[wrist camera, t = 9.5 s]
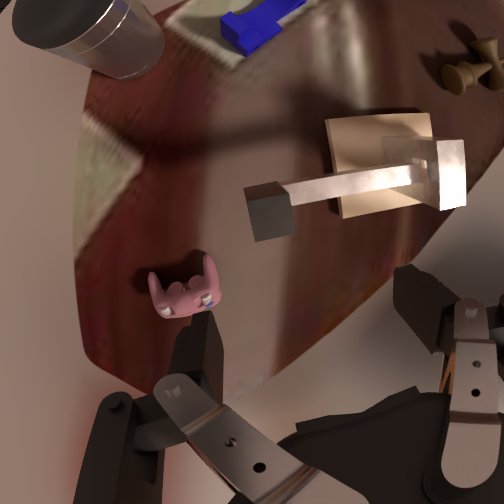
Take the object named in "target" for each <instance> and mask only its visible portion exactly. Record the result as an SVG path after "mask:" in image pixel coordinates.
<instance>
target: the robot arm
mask: <svg viewBox="0 0 504 504" xmlns="http://www.w3.org/2000/svg"><path fill="white" fill-rule="evenodd" d="M10 1H11V0H0V13H1V12H2V11H3V9H5V7H6V6H7V5H8V4H9V3H10ZM12 26H13V30H14V33H15V35H16V36H17V37H18V38H19V39H20V40H21V41H22V42H24V43H26V44H28V45H31V46H34V47H37V48H40V49H43V50H45V51H48V52H51V53H53V54H56V55H59V56H62V57H64V58H67V59H69V60H72V61H74V62H77V63H79V64H82V65H84V66H87V67H89V68H91V69H93V70H96V71H98V72H100V73H102V74H105V75H107V76H109V77H112V78H114V79H117V80H131V79H135V78H138V77H140V76H142V75H144V74H146V73H147V72H149V71H150V70H151V69H152V68H153V67H154V66H155V65H156V64H157V63H158V61H159V60H160V58H161V56H162V55H163V52H164V49H165V36H164V33H163V31H162V29H161V28H160V26H159V25H158V23H157V22H156V20H155V19H154V17H153V16H152V14H151V13H150V12H149V10H148V9H147V7H146V6H145V4H144V3H143V2H142V0H17V1H16V3H15V6H14V10H13V15H12ZM393 303H394V306H395V309H396V311H397V312H398V313H399V314H400V316H401V317H402V318H403V319H404V320H405V321H406V323H407V324H408V325H409V326H410V328H411V329H412V330H413V331H414V333H415V334H416V335H417V336H418V337H419V339H420V340H421V341H422V343H423V344H424V345H425V346H426V348H427V349H428V350H429V351H430V353H431V354H432V355H435V354H438V353H440V352H442V351H443V353H444V357H443V362H442V369H441V376H440V383H439V389H438V393H436V392H426V393H420V392H419V391H418V389H417V387H416V386H413V387H411V388H409V389H406V390H403V391H401V392H398V393H396V394H393V395H391V396H388V397H387V398H385V399H384V400H382V401H380V402H379V403H377V404H376V405H374V406H373V407H371V408H369V409H367V410H365V411H364V412H361V413H354V414H342V415H328V416H324V417H320V418H316V419H312V420H307V421H303V422H299V423H296V429H297V432H295V433H293V434H291V435H289V436H287V437H285V438H284V439H282V440H281V441H279V442H278V443H277V444H275V443H274V442H272V441H271V440H270V439H268V438H267V437H266V436H264V435H263V434H262V433H261V432H259V431H258V430H257V429H256V428H254V427H253V426H252V425H251V424H249V423H248V422H247V421H246V420H244V419H243V418H242V417H241V416H239V415H238V414H237V413H236V412H235V411H233V410H232V409H231V408H230V407H229V406H227V405H225V404H223V366H224V349H223V343H222V340H221V337H220V334H219V331H218V328H217V325H216V322H215V319H214V316H213V313H212V311H211V310H209V311H204V312H198V313H194V314H193V316H192V321H191V326H186V327H183V328H182V330H181V331H180V332H179V333H178V335H177V338H176V342H175V346H174V350H173V351H174V352H173V354H172V358H171V362H170V367H169V371H168V375H167V376H166V377H164V378H162V379H161V380H160V381H159V382H158V383H157V384H156V386H155V388H154V392H153V393H151V394H149V395H146V396H143V397H140V398H137V399H133V398H132V397H131V396H130V395H129V394H128V393H126V392H115V393H112V394H110V395H108V396H107V397H105V398H104V399H103V400H102V402H101V403H100V405H99V408H98V411H97V414H96V418H95V420H94V424H93V427H92V431H91V434H90V437H89V441H88V444H87V448H86V451H85V456H84V459H83V463H82V467H81V470H80V475H79V479H78V484H77V487H76V492H75V496H74V501H73V504H162V488H163V471H164V457H165V448H167V447H171V446H174V445H177V444H180V443H183V442H187V443H188V445H189V446H190V447H191V448H192V449H193V450H194V452H196V454H197V455H198V456H199V457H200V458H201V459H202V460H203V461H204V462H205V464H206V465H207V466H208V467H209V468H210V469H211V470H212V471H213V472H214V473H215V474H216V475H217V477H218V478H219V479H220V480H221V481H222V482H223V483H224V484H225V485H226V486H227V487H228V488H229V489H230V490H231V491H232V492H233V493H234V494H235V496H234V497H233V498H232V499H231V501H230V502H229V503H228V504H504V414H503V413H500V412H498V374H499V376H500V377H501V378H502V380H503V381H504V294H503V295H501V297H500V300H499V304H498V306H493V307H486V308H485V306H484V305H483V304H482V303H481V302H479V301H477V300H474V299H463V300H461V299H460V298H459V297H458V296H457V295H455V294H454V293H453V292H452V291H451V290H450V289H449V288H447V287H446V286H444V284H443V283H441V282H439V280H438V279H436V278H435V277H434V276H433V275H431V274H429V273H426V272H423V271H420V270H419V269H417V268H416V267H415V266H414V265H412V264H406V265H403V266H399V267H396V268H395V269H394V281H393Z"/></svg>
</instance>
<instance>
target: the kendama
mask: <svg viewBox="0 0 504 504" xmlns="http://www.w3.org/2000/svg"><path fill="white" fill-rule="evenodd" d="M469 45H470V46H471V47H472V48H473V49H474V50H475V51H476V52H477V53H478V54H479V55H480V56H481V57H482V58H483V60H484V62H485V63H479V64H469V63H467V62H466V61H460V62H458V63H457V65H456V66H453V65H449V64H446V65H444V66H442V67H441V69H440V74H441V79H442V81H443V83H444V85H445V87H446V88H447V89H448V90H449V92H451V93H452V94H454V95H458V96H459V95H462V94H463V93H464V92H465V90H466V86H467V87H471V88H472V87H475V86H476V85H477V79H478V78H479V77H480V76H481V75H483V74H484V73H485V72H487V71H488V74H489V82H488V88H489V90H492V91H504V70H503V68H502V66H501V64H502V63H504V58H502V59H499V58H498V55H497V45H498V40H497V38H495V37H489V38H483V39H478V40H475V41H472V42H470V43H469Z"/></svg>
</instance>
